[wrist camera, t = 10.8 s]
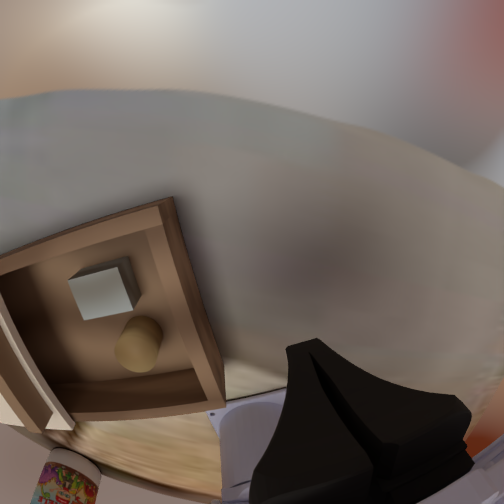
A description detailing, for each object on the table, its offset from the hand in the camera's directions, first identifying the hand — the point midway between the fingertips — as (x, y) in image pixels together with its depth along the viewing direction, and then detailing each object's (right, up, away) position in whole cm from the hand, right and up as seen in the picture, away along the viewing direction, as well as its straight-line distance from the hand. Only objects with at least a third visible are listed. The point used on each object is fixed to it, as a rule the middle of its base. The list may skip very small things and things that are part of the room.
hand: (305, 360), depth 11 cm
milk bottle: (-26, -24, +15) cm, 38 cm away
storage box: (-16, -1, +9) cm, 18 cm away
